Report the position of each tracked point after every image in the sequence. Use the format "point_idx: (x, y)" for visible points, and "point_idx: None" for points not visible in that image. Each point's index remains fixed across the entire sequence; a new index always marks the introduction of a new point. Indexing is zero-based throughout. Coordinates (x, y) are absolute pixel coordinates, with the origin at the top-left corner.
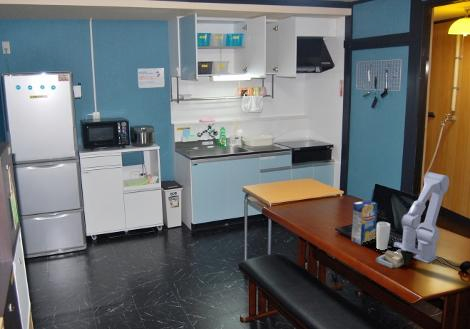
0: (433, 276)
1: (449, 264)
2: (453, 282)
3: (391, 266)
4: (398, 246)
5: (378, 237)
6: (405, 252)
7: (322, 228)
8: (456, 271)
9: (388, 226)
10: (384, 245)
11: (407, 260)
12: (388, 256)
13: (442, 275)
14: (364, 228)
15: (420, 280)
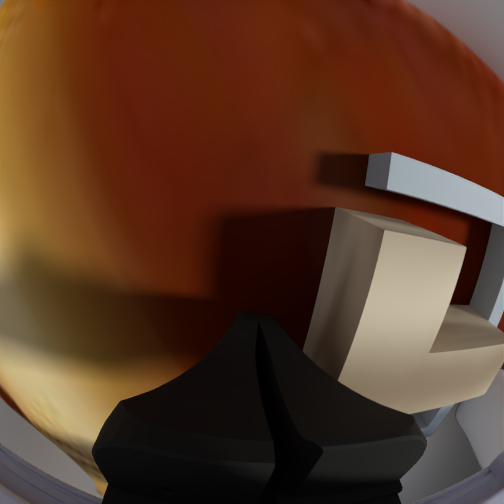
0: (10, 287)
1: (94, 465)
2: None
3: (384, 154)
4: (497, 495)
5: None
6: (290, 481)
7: None
8: (28, 415)
9: None
10: (498, 419)
11: (217, 347)
12: (470, 326)
13: (6, 339)
14: None
15: (23, 129)
